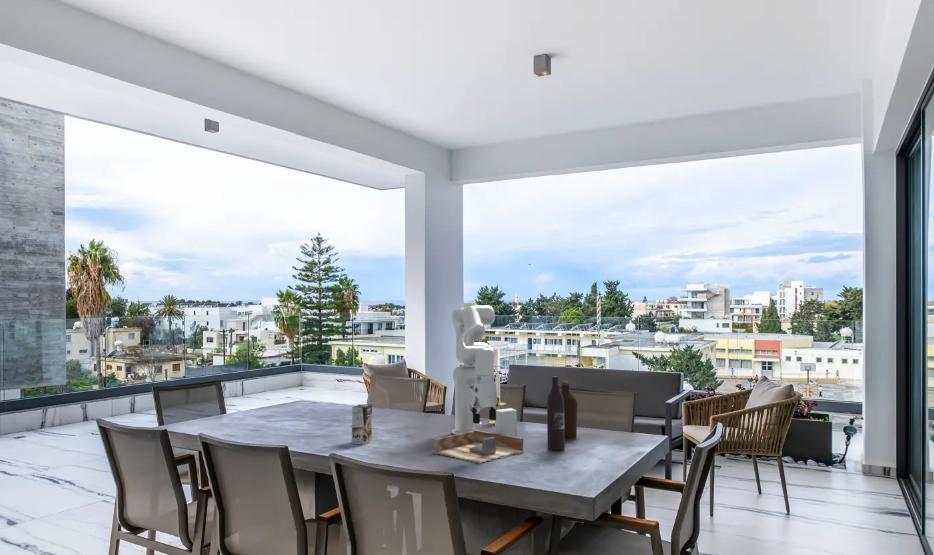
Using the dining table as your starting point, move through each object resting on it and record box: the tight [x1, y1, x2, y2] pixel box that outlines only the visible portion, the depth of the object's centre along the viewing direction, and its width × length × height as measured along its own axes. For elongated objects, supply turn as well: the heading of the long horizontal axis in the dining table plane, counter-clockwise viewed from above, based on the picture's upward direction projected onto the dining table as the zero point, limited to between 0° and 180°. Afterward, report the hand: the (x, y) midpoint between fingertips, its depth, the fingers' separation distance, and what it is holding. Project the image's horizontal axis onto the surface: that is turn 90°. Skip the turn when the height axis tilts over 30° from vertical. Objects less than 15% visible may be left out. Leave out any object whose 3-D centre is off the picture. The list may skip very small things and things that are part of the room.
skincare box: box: [494, 407, 518, 437], centre depth 274 cm, size 8×6×15 cm
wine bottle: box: [546, 375, 566, 452], centre depth 264 cm, size 7×7×30 cm
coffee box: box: [351, 403, 373, 445], centre depth 280 cm, size 9×6×16 cm
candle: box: [488, 370, 507, 425], centre depth 325 cm, size 10×10×27 cm
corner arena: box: [432, 429, 524, 464], centre depth 258 cm, size 26×26×6 cm
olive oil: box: [560, 380, 578, 440], centre depth 288 cm, size 11×11×25 cm
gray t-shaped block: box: [470, 437, 496, 455], centre depth 254 cm, size 9×6×6 cm, turn 49°
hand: (484, 421), depth 254 cm, fingers open, 9 cm apart
